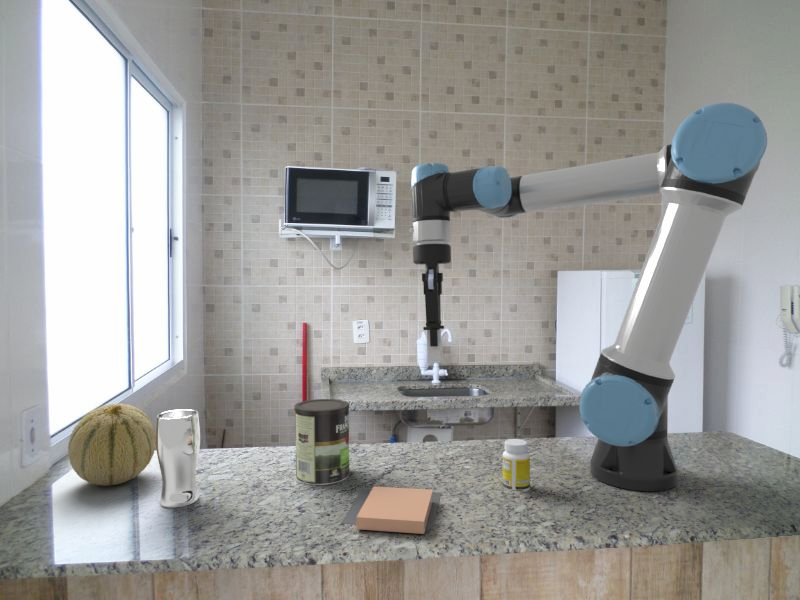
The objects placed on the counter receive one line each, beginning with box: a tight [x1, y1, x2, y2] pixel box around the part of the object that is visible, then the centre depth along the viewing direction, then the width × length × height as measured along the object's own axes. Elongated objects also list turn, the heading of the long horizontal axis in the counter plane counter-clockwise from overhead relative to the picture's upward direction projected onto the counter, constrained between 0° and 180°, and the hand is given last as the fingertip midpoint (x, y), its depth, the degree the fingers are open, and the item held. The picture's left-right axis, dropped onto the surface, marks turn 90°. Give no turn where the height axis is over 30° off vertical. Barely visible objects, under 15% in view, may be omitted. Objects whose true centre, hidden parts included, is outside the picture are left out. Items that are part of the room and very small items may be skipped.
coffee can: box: [293, 398, 350, 486], centre depth 102 cm, size 10×10×14 cm
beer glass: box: [155, 408, 201, 509], centre depth 92 cm, size 7×7×15 cm
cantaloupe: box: [67, 403, 156, 487], centre depth 101 cm, size 15×15×15 cm
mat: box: [340, 487, 442, 531], centre depth 88 cm, size 14×14×1 cm
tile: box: [356, 485, 434, 535], centre depth 84 cm, size 10×2×12 cm
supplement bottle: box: [502, 438, 531, 493], centre depth 97 cm, size 5×5×8 cm
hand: (434, 362), depth 108 cm, fingers closed
